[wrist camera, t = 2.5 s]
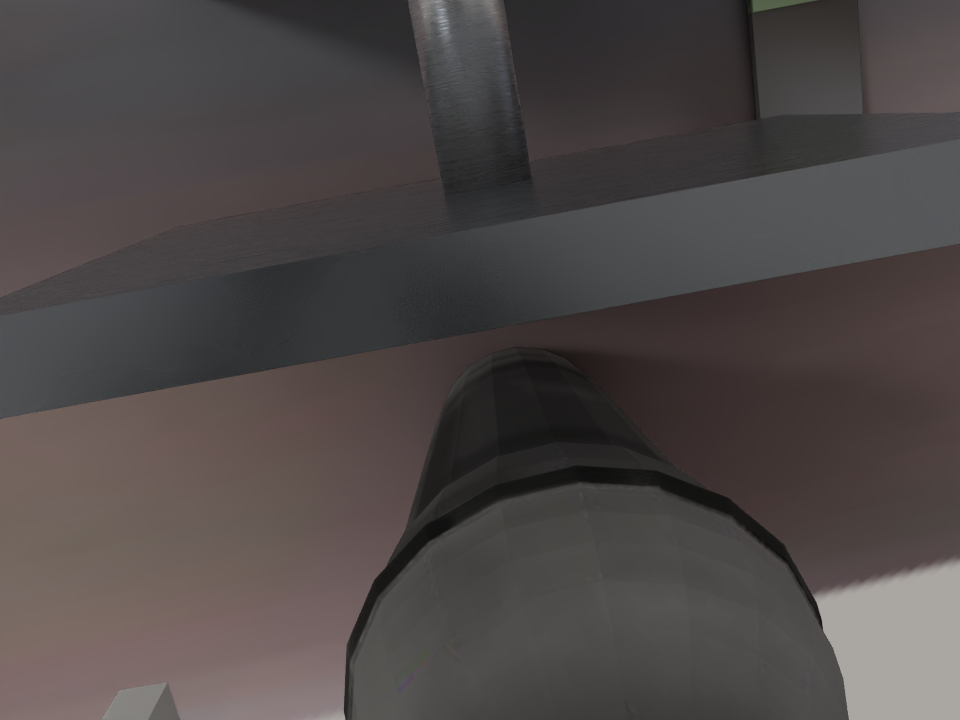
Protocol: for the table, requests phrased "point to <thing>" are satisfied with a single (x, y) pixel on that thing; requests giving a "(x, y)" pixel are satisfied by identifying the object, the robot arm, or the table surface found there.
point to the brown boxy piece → (805, 57)
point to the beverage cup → (579, 576)
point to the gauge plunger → (481, 236)
